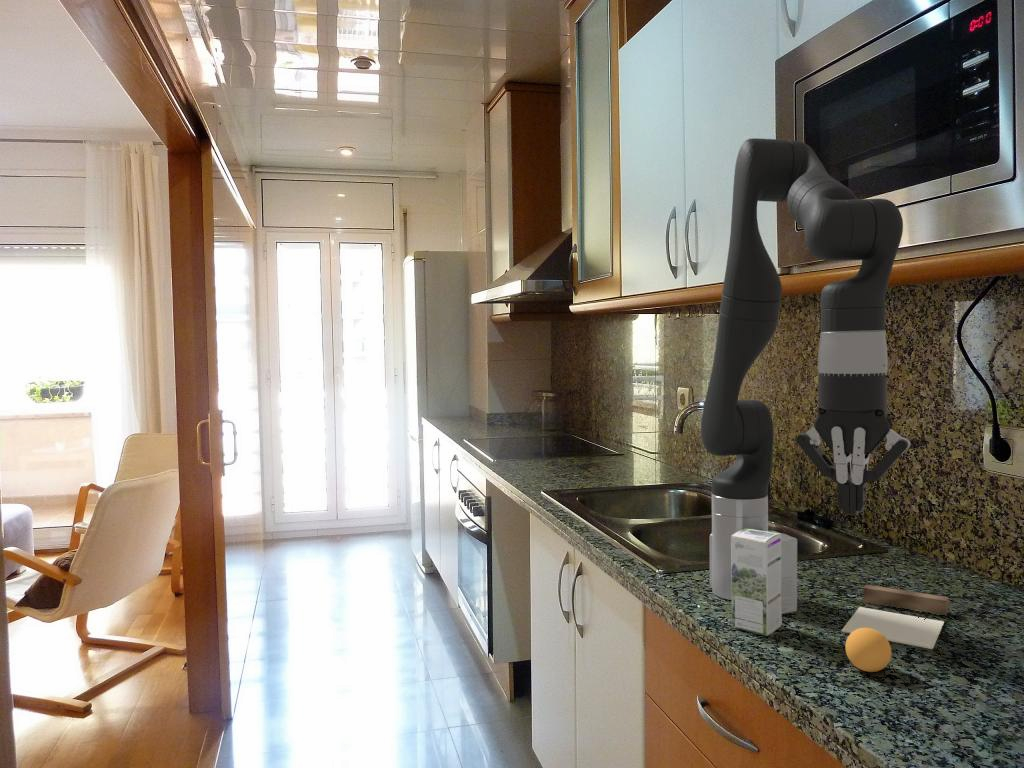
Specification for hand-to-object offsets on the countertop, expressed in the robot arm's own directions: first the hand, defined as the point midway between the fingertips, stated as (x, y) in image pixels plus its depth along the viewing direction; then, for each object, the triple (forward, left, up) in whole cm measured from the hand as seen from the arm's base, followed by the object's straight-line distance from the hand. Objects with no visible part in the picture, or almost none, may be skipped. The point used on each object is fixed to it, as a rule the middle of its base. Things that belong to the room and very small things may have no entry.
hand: (851, 513), depth 93 cm
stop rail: (-22, +31, -23) cm, 44 cm away
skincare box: (-29, +12, -23) cm, 39 cm away
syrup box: (-23, +4, -23) cm, 33 cm away
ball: (-5, +8, -20) cm, 22 cm away
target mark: (-16, +22, -23) cm, 36 cm away
